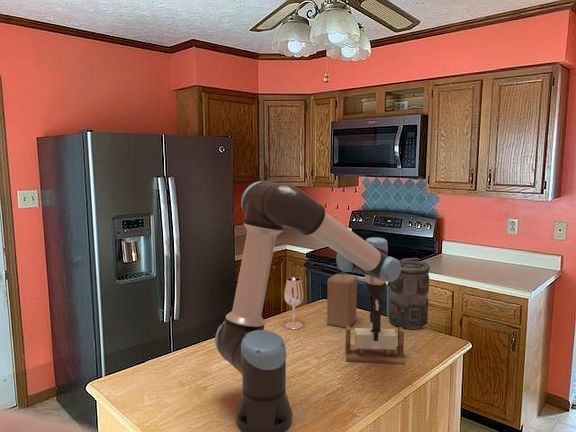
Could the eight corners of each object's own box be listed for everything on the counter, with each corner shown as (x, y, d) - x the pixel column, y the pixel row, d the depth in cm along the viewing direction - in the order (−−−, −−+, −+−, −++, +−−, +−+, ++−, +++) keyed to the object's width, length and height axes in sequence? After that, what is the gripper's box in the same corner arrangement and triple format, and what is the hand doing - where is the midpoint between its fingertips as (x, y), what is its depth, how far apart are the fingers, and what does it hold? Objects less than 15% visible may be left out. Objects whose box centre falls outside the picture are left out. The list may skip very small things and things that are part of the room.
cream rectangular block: (396, 349, 157) (396, 336, 156) (355, 348, 158) (356, 334, 158) (393, 342, 163) (394, 329, 162) (354, 341, 164) (355, 328, 164)
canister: (400, 331, 181) (403, 264, 177) (382, 317, 197) (384, 255, 192) (435, 327, 186) (438, 261, 182) (414, 314, 201) (416, 253, 197)
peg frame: (405, 364, 154) (406, 336, 152) (346, 361, 156) (346, 334, 154) (399, 347, 167) (400, 322, 165) (345, 345, 169) (345, 320, 167)
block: (326, 324, 189) (326, 278, 186) (335, 317, 198) (335, 272, 195) (348, 329, 184) (349, 281, 181) (356, 321, 193) (357, 275, 190)
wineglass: (282, 328, 185) (281, 281, 183) (287, 321, 193) (287, 276, 190) (300, 330, 183) (300, 282, 180) (305, 323, 191) (305, 277, 188)
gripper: (390, 290, 148) (388, 357, 151) (383, 274, 166) (382, 334, 170) (366, 290, 148) (365, 356, 152) (363, 274, 167) (362, 333, 171)
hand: (374, 344), depth 161 cm, fingers closed on cream rectangular block, 6 cm apart
